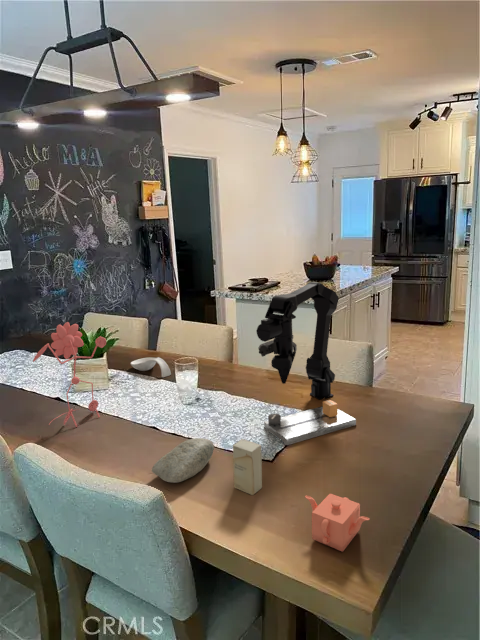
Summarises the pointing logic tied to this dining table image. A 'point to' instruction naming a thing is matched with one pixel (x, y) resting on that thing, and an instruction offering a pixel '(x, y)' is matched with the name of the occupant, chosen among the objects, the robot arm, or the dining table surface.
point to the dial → (274, 419)
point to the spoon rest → (151, 365)
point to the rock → (184, 460)
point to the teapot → (335, 521)
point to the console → (308, 425)
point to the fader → (330, 408)
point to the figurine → (67, 345)
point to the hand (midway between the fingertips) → (285, 378)
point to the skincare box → (247, 466)
